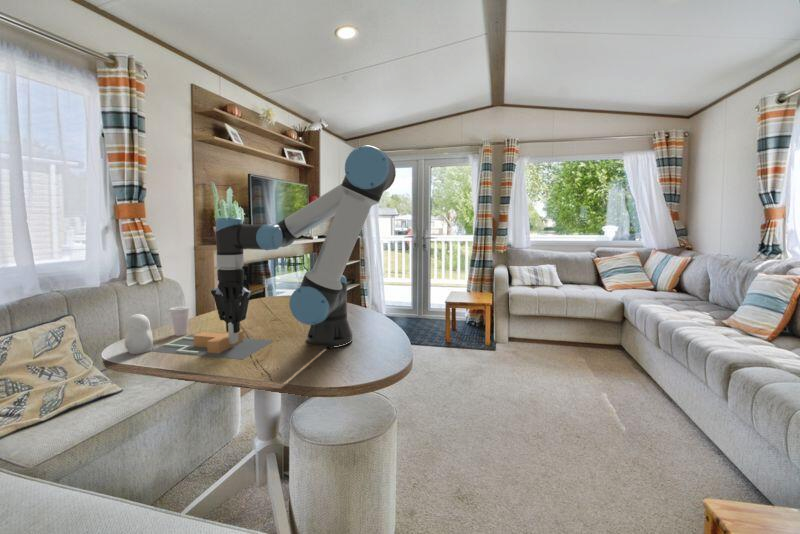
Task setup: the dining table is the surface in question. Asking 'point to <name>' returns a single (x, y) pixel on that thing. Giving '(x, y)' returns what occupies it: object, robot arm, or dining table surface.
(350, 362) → the dining table surface
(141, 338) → the figurine
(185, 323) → the smoothie
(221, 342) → the t block
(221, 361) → the dining table surface
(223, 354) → the mat
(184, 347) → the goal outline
